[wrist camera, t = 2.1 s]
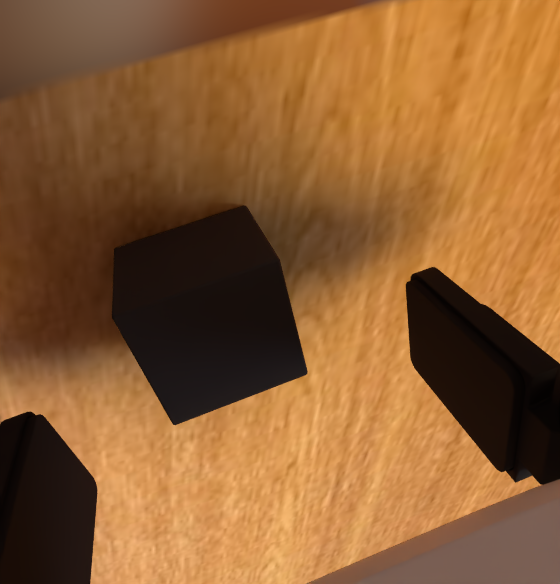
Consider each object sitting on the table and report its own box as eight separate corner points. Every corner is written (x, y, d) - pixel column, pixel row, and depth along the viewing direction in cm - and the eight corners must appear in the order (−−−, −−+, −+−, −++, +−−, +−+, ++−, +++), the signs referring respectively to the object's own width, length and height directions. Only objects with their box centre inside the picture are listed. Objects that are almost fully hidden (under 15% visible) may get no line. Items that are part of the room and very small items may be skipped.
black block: (113, 247, 12) (110, 317, 10) (245, 204, 13) (280, 258, 10) (163, 347, 15) (173, 426, 12) (274, 307, 15) (308, 374, 12)
